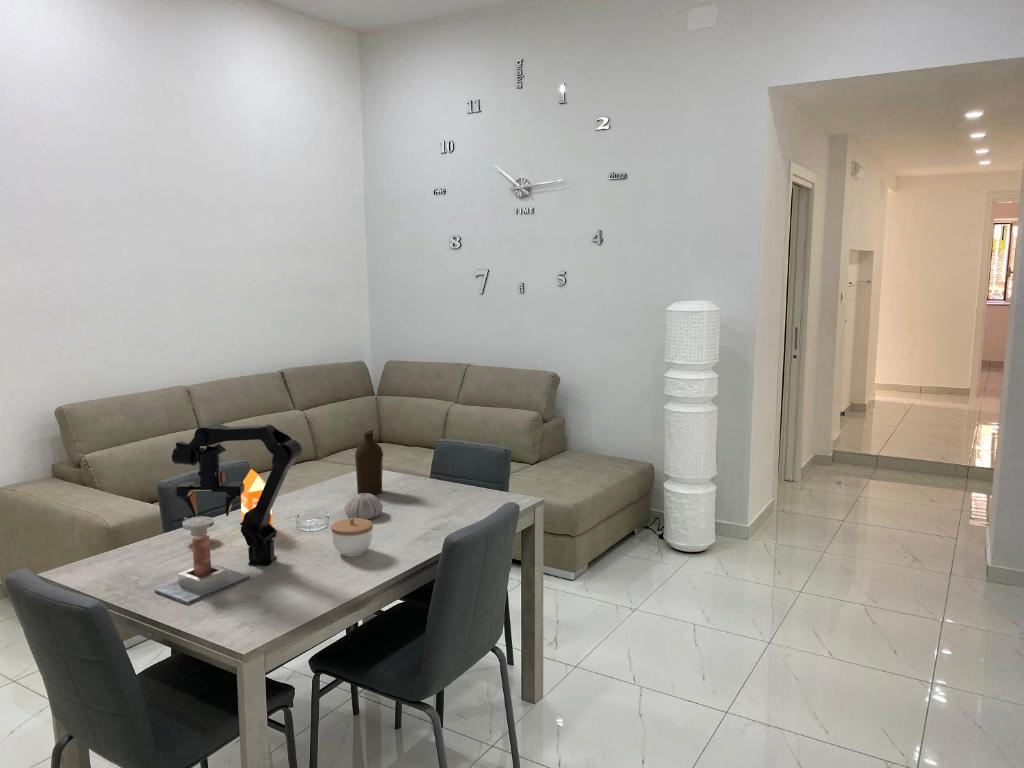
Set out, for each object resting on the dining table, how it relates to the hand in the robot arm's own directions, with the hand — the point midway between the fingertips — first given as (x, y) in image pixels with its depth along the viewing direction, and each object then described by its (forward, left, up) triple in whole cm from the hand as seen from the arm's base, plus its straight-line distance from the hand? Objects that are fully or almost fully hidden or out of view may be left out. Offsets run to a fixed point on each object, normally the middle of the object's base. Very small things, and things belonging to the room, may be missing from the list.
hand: (211, 516), depth 231 cm
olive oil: (-32, -69, -13) cm, 77 cm away
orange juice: (-4, -25, -13) cm, 28 cm away
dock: (-6, +20, -13) cm, 25 cm away
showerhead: (+11, -14, -13) cm, 22 cm away
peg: (-6, +20, -12) cm, 24 cm away
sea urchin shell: (-36, -42, -13) cm, 57 cm away
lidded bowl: (-41, -7, -13) cm, 44 cm away
